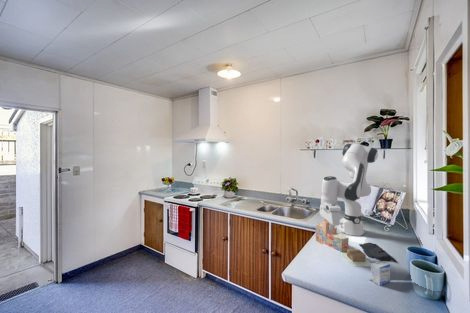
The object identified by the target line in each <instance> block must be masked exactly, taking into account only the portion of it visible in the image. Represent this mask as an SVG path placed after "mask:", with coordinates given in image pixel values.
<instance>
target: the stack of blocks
mask: <svg viewBox="0 0 470 313" xmlns="http://www.w3.org/2000/svg"><path fill="white" fill-rule="evenodd" d="M322 226H323V222H321V223H316V224H315V242H317V243H319V244H320V245H326V246H327V247H330V248H332V249H334V250H336V251H338V252H347V249H349V236H345V235H344V234H340V233H338V232H337V230H338V228H337V227H335V231H334V233H325V232H324V231H323V230H322Z"/></svg>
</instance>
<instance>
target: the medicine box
mask: <svg viewBox="0 0 470 313" xmlns="http://www.w3.org/2000/svg"><path fill="white" fill-rule="evenodd" d="M371 263H372V264H371V266H370V281H371V282H373V283H374V284H376V285H378V286H382V285H384V284H388V283H390V282H391V264H390V263H388V262H387V261H381V260H378V261H375V262H371Z"/></svg>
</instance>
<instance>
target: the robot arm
mask: <svg viewBox="0 0 470 313" xmlns="http://www.w3.org/2000/svg"><path fill="white" fill-rule="evenodd" d="M341 152H342V156H343V157H342V159H341V164H342V167H344V169H345V170H347V171H349V172H348V175H349V177H350V178H352V179H353V180H352V181H351V182H345V181H340V180H338V178H337V177H336V176H324V177H323V178H322V181H321V198H320V205H319V215H320V216H321V218H323V220H327V221H328V222H329V224H330V226H329V230H333V226H335V228H337V230H338V231H339V233H342V234H347V235H350V236H356V237H357V236H359V237H360V236H364V234H365V233H366V231H364V222H363V215H362V205H361V203H359V201H357V200H359V199H360V198H362V197H367V196H370V195H371V193H372V188H371V186H370V184H369V183H368V182H367V180H366V177H367V172H368V168H369V164H371V163H374V162H376V161H377V159H378V157H379V150H378V149H377V148H376V147H375V148H374V147H371V146H367V145H363V144H361V143H360V144H359V143H353V144H352V143H346V144H345V145H344V146H343V147H342V150H341ZM338 198H339V199H342V200H343V202H344V213H343V217H342V218H341V213H340V212H342V208H341V206H340V205H339V203H338Z"/></svg>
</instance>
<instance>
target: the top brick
mask: <svg viewBox="0 0 470 313" xmlns="http://www.w3.org/2000/svg"><path fill="white" fill-rule="evenodd" d="M322 223H323V226H322V230H323V231H324V232H325V233H334V231H335V228H336V226H333V230H329V226H330V224H329V222H328V221H327V220H324V219H323V220H322Z"/></svg>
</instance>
